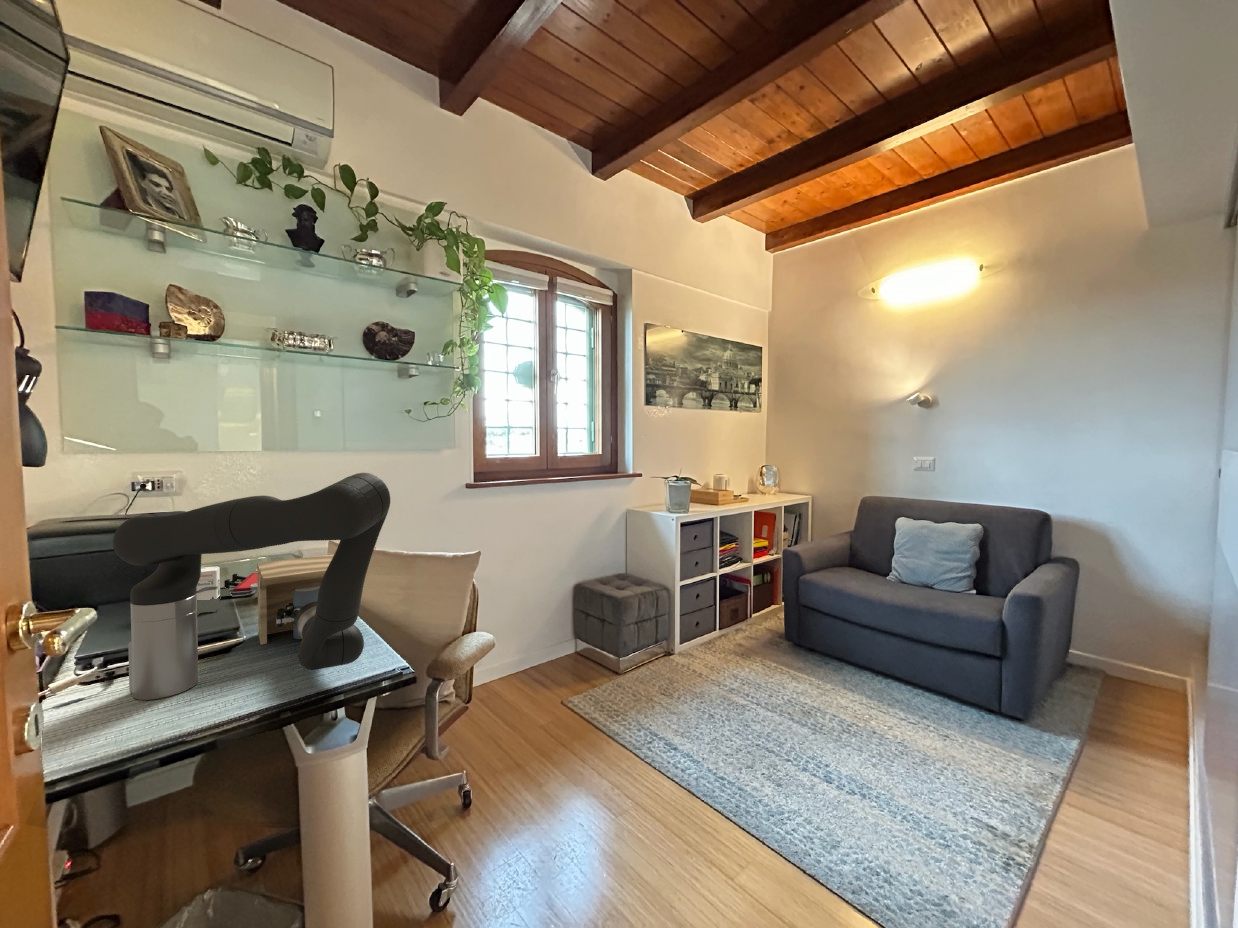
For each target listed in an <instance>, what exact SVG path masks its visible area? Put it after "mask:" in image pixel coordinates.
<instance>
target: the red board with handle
mask: <svg viewBox="0 0 1238 928" xmlns="http://www.w3.org/2000/svg"><path fill="white" fill-rule="evenodd" d="M231 578H232V579H225V580H224V584H223V585H224V587H226V588H227V589H229V588H230V586H231V587H234V588H233V589H232V590H233V591H232V590H231V594H232V597H244V596H253V595H254V594H255V593H257V592H258V582H257V572H252V573H250V574H249V575H248V576H246V577H245V576H241V575H238V573H233V574H232V577H231ZM238 580H240V581H241V582H238ZM224 587H223V588H224Z"/></svg>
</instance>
